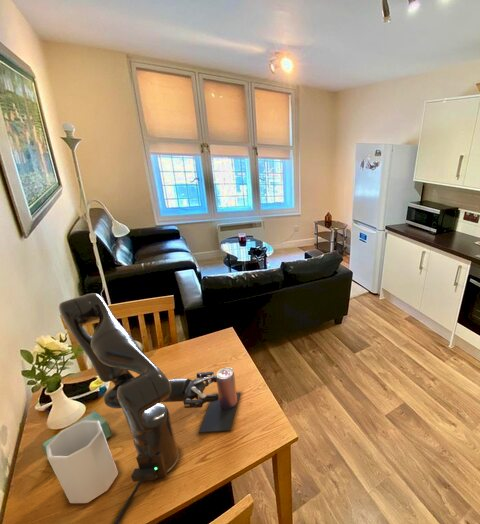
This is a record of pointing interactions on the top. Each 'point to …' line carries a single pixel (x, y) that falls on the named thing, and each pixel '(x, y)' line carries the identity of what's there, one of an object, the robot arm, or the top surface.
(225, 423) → the mat
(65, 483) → the cup
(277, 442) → the top surface
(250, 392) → the top surface
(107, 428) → the box
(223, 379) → the beverage can
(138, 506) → the top surface
